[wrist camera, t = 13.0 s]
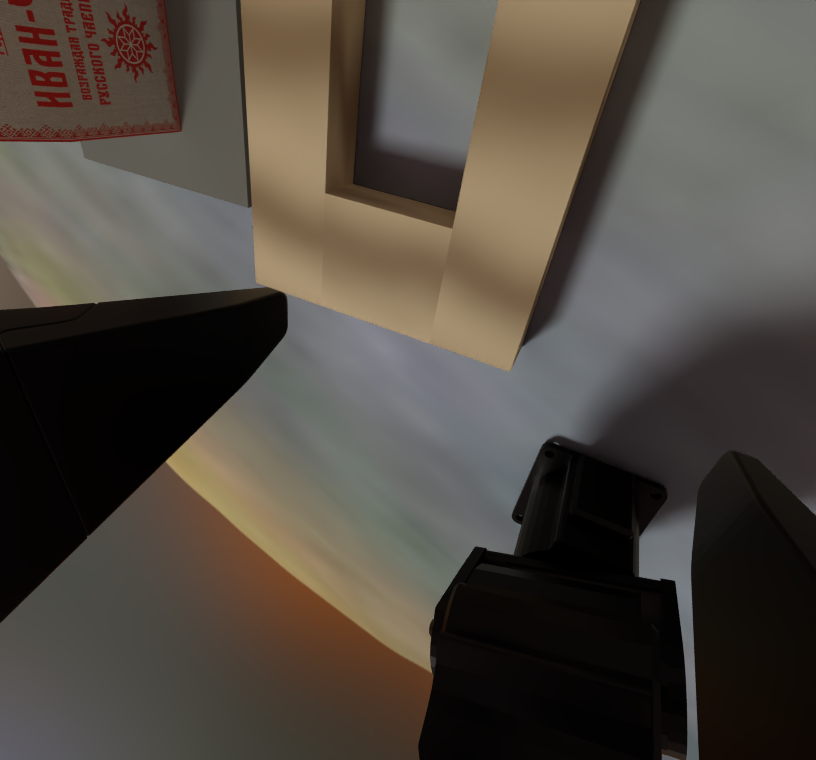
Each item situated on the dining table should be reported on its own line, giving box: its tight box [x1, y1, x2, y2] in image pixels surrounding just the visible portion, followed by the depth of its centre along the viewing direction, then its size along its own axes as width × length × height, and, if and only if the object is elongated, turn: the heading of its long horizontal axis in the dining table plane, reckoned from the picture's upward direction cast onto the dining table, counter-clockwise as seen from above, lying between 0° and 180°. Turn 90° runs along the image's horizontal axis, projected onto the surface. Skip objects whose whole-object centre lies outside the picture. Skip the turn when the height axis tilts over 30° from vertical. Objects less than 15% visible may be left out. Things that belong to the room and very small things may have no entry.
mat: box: [81, 0, 252, 208], centre depth 22 cm, size 14×12×1 cm
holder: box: [240, 0, 641, 372], centre depth 18 cm, size 20×14×2 cm
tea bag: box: [0, 0, 181, 142], centre depth 18 cm, size 4×7×10 cm, turn 172°
